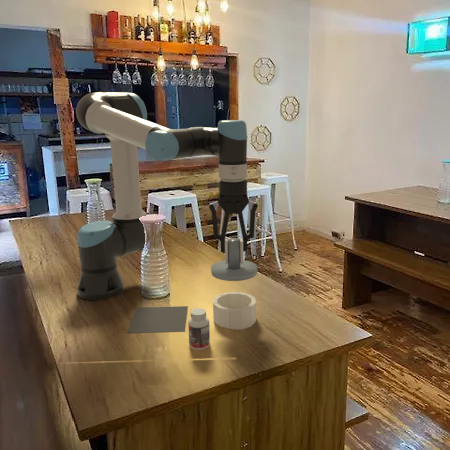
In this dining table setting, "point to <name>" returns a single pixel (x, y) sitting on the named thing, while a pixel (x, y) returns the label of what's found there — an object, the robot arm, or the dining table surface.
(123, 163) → the robot arm
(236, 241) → the lid
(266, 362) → the dining table surface
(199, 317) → the pill bottle
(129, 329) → the mat
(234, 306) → the bowl
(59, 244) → the dining table surface
